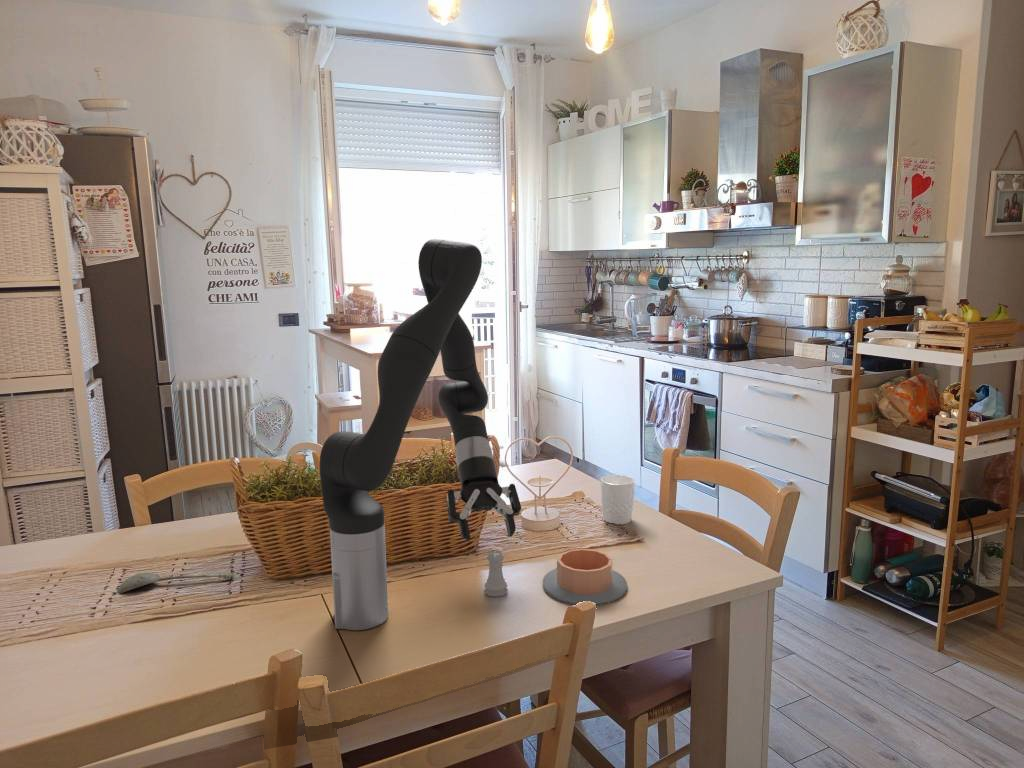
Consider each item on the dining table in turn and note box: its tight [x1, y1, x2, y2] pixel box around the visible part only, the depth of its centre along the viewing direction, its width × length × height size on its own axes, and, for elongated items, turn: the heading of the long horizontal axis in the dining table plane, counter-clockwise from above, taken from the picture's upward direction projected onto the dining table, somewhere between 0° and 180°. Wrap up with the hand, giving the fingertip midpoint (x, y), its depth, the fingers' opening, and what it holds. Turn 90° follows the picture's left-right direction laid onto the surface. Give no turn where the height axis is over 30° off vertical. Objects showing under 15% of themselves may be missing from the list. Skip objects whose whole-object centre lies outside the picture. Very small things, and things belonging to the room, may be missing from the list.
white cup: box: [600, 474, 636, 525], centre depth 173 cm, size 8×8×10 cm
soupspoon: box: [116, 572, 237, 594], centre depth 142 cm, size 22×3×7 cm
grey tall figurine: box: [483, 549, 509, 598], centre depth 136 cm, size 4×4×8 cm
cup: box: [542, 548, 628, 606], centre depth 138 cm, size 16×16×5 cm
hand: (489, 537), depth 139 cm, fingers open, 8 cm apart
